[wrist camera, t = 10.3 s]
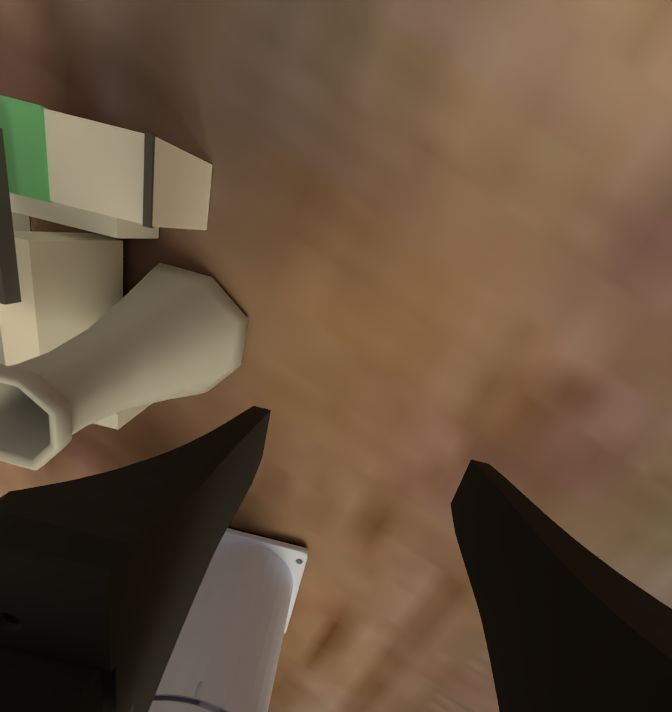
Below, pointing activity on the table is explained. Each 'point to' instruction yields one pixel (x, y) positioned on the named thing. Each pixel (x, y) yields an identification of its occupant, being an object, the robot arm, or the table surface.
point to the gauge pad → (51, 282)
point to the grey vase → (122, 363)
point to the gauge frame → (99, 182)
